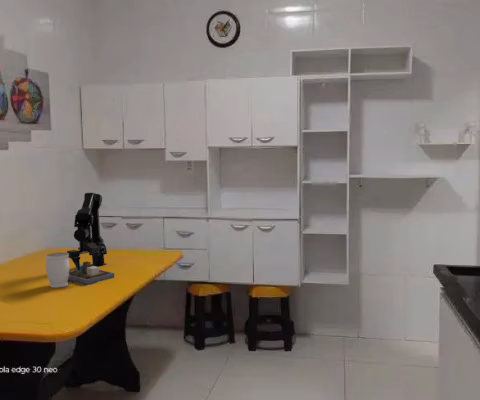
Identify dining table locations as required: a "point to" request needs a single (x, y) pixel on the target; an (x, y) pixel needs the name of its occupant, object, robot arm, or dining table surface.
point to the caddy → (85, 272)
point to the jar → (57, 269)
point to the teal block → (80, 269)
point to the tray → (92, 280)
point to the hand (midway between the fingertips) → (86, 268)
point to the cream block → (92, 270)
